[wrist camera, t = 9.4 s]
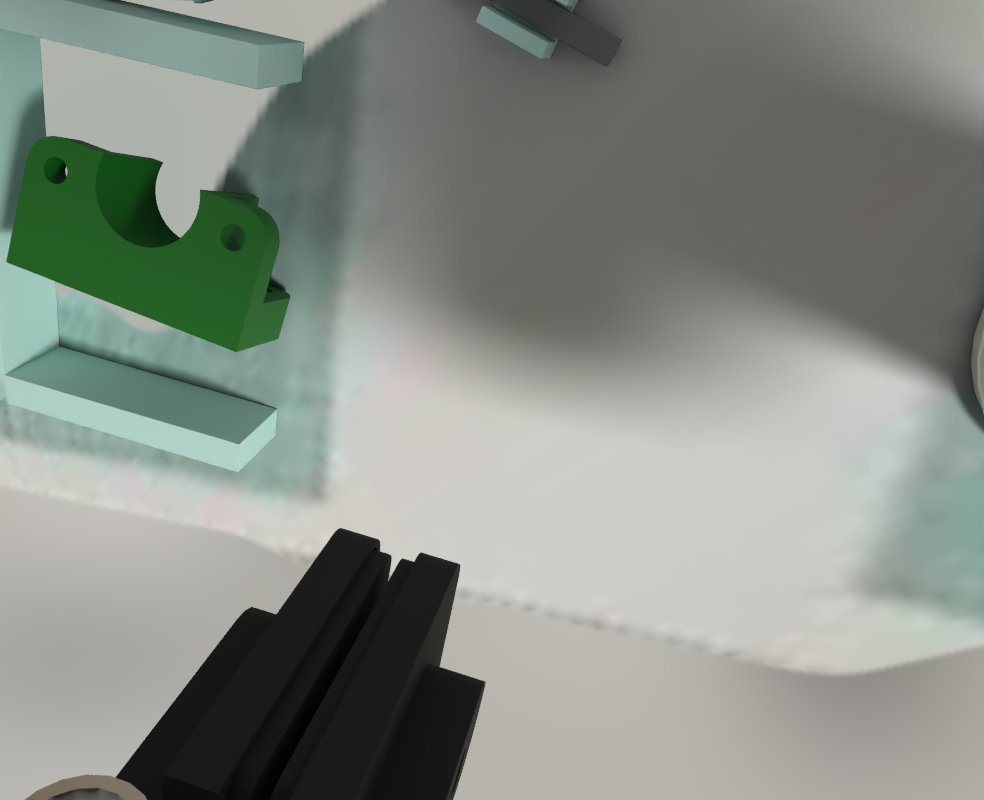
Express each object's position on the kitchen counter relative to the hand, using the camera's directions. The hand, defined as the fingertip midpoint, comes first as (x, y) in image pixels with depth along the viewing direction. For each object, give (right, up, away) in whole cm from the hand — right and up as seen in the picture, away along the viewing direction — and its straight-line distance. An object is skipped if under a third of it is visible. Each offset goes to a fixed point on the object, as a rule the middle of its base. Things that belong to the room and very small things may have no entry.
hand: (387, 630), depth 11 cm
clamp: (-13, +12, +29) cm, 34 cm away
